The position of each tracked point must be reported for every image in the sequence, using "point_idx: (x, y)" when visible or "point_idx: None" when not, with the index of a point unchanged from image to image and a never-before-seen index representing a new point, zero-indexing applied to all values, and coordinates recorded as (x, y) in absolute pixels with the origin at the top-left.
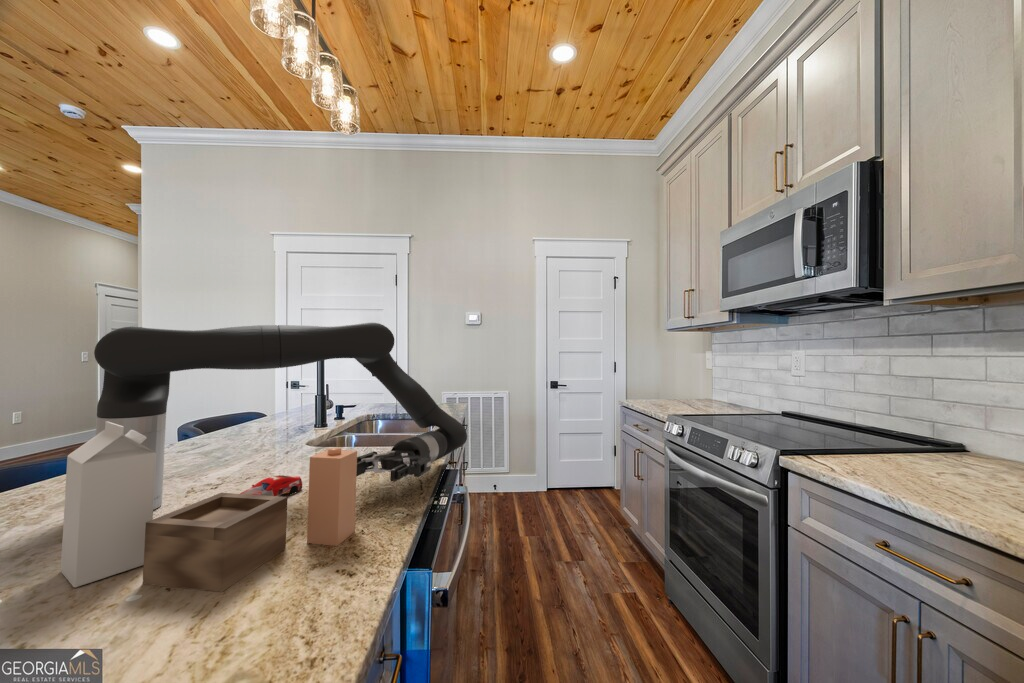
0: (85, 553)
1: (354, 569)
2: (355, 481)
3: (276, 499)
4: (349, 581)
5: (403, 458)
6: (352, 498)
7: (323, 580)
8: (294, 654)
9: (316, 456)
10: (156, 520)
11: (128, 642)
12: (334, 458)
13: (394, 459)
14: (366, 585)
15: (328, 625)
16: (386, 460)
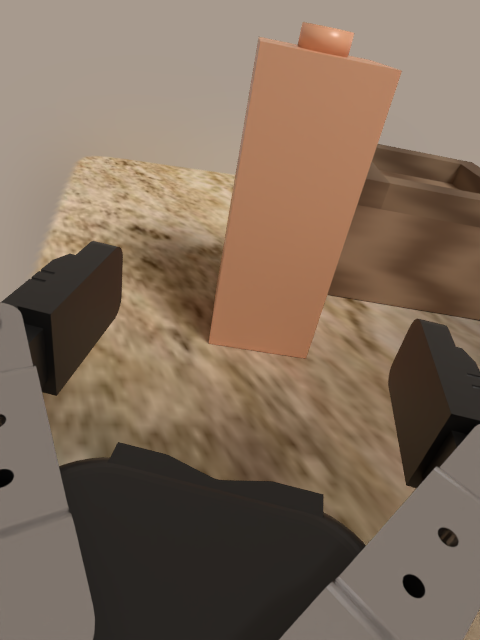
0: None
1: (136, 236)
2: (236, 181)
3: (374, 175)
4: (133, 219)
5: (29, 366)
6: (227, 230)
7: (179, 225)
8: (147, 169)
9: (355, 57)
10: (465, 162)
11: None
12: (280, 41)
13: (170, 476)
14: (100, 210)
15: (129, 181)
16: (277, 488)
